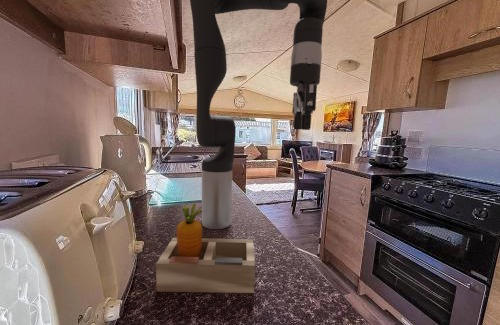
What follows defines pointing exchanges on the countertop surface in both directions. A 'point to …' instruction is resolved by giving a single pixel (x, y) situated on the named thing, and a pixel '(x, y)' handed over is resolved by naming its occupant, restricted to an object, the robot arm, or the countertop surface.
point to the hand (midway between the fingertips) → (301, 129)
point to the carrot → (189, 234)
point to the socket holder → (208, 267)
